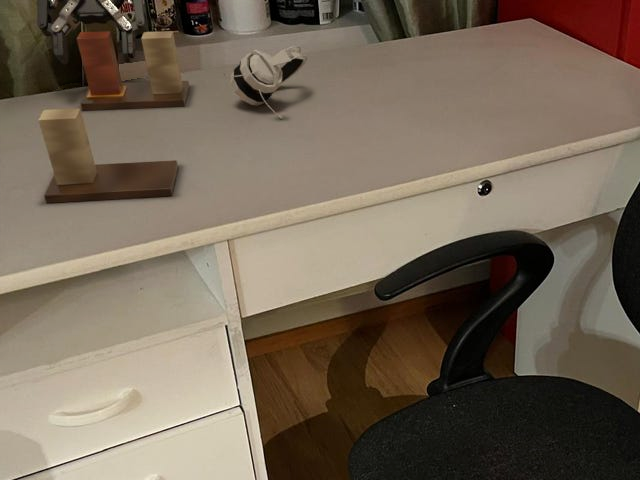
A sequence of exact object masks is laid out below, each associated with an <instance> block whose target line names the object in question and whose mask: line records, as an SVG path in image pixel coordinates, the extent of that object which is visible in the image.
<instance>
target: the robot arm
mask: <svg viewBox="0 0 640 480" xmlns="http://www.w3.org/2000/svg"><path fill="white" fill-rule="evenodd" d="M125 2H127V3H128V4H129V6H130V7H131V8H133V11H134V18H135V20H134V21H132V22H130V21H129V20H128V19H127V18H126V17H125V16H124V15H123V14H122V12H121V11H120V9H121V8H122V6H123V5H124V3H125ZM59 3H62V4H63V5H64V6H63V8H61V10H60V11H59V13H58V17H57V18H56V20H55V21H54V20H53V19H54V17H53V15H54V10H56V9H57V7H58V4H59ZM36 13H37V16H36V17H37V19H36V24H37V27H38V28H39V30H40V31H41V33H42V34H43V36H45V37H52V49H53V54H54V57H56V59H57V60H58V61H60V63H61V64H62V65H69V48H68V47H69V46H68V45H69V44H68V39H67V37H68V36H69V34H70V33H71V32H72V31H75V30H76V29H77V28H78V26H79V25H80V24H81V23H83V25H91V24H95V23H96V24H101V25H103V24H105V25H106V24H107V25H108V22H110V21H112V23H113V24H114V25H115V26H116V27H117V28H118V29H119V30H120V31H121V33H120V34H121V49H122V51H121V52H122V58H123V60H124V62H125V63H133V62H132V60H133V59H136V55H137V54H136V52H137V51H136V38H137V36H138V35H143V33H144V32H149V24H148V23H149V21H148V15H147V7H146V1H145V0H37V12H36Z"/></svg>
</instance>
